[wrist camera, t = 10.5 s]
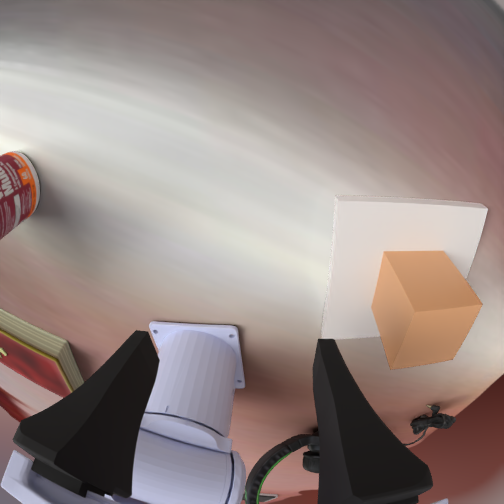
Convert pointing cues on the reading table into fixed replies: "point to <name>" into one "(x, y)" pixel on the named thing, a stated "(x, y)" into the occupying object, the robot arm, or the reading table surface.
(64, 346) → the hardcover book
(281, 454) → the headset
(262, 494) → the smartphone
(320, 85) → the reading table surface
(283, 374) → the reading table surface
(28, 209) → the pill bottle
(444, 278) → the tan wooden cube
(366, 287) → the post plate
